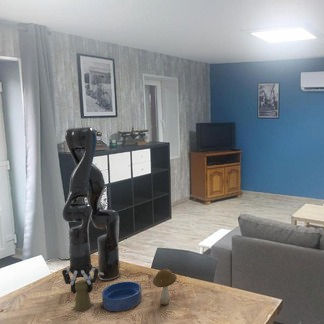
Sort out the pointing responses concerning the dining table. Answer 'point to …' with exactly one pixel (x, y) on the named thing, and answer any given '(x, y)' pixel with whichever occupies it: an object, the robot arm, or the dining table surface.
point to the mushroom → (164, 283)
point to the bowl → (121, 296)
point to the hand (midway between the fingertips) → (82, 292)
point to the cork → (82, 296)
